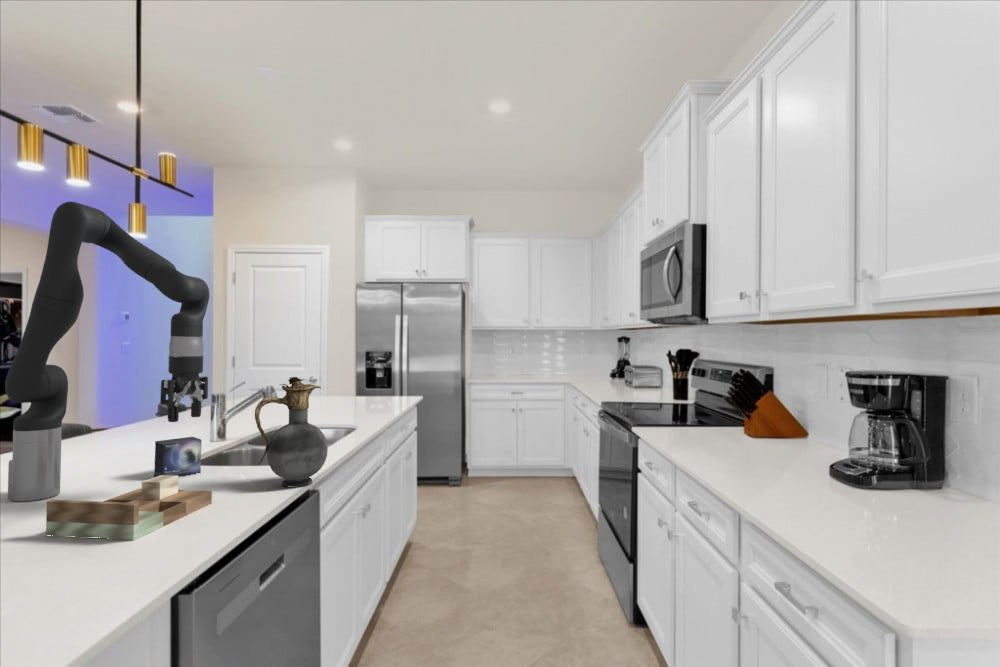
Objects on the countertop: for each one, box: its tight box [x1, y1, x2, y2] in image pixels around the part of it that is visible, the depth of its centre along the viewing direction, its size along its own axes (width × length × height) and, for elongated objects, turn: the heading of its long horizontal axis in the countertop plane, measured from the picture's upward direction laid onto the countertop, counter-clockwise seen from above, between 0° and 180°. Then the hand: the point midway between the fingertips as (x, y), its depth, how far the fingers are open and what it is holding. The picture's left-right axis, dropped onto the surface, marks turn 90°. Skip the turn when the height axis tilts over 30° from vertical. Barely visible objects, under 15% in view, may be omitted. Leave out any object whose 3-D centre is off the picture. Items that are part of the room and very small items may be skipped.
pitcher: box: [254, 376, 329, 487], centre depth 144 cm, size 11×19×30 cm, turn 126°
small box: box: [153, 436, 202, 478], centre depth 153 cm, size 11×6×10 cm, turn 143°
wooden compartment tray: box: [45, 487, 213, 541], centre depth 116 cm, size 19×24×7 cm
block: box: [141, 475, 180, 500], centre depth 123 cm, size 4×6×4 cm
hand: (184, 419), depth 131 cm, fingers open, 7 cm apart
